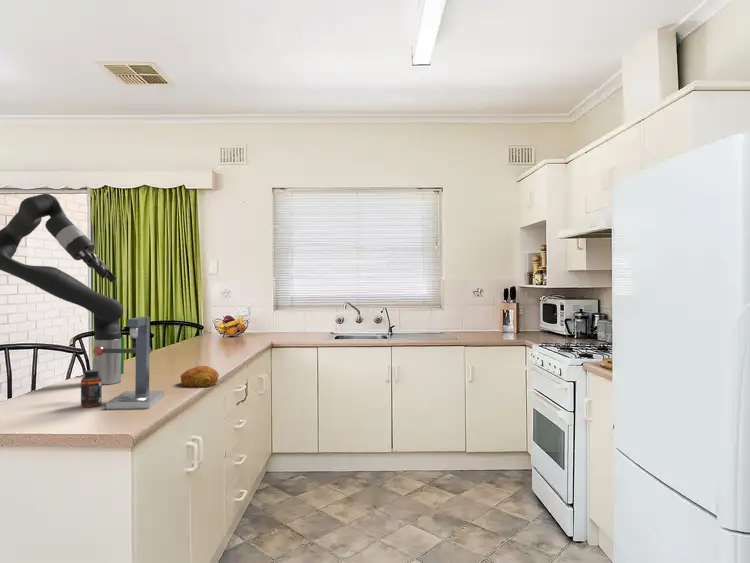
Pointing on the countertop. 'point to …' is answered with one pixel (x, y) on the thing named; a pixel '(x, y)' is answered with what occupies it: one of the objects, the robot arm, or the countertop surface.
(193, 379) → the croissant
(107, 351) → the lever
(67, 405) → the countertop surface
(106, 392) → the countertop surface
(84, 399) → the supplement bottle
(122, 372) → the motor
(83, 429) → the countertop surface
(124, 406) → the press
